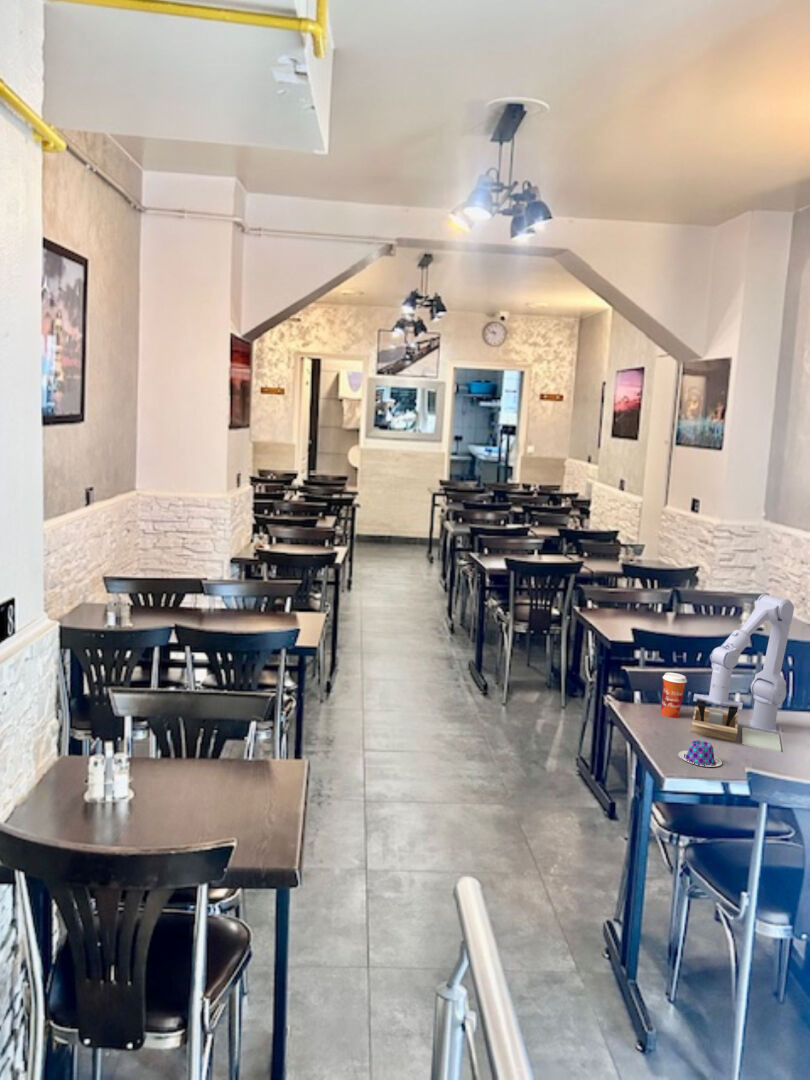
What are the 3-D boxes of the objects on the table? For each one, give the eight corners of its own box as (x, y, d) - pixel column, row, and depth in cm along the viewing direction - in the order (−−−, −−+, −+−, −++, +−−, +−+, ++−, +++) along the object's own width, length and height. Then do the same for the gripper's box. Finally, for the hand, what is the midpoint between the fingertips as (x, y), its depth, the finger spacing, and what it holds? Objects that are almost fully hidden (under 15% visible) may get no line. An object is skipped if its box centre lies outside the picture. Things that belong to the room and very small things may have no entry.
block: (707, 725, 280) (710, 707, 279) (720, 728, 278) (723, 710, 277) (706, 733, 272) (709, 714, 271) (720, 735, 271) (722, 717, 270)
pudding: (720, 772, 241) (722, 754, 241) (675, 762, 246) (678, 744, 246) (723, 759, 252) (725, 742, 252) (680, 749, 257) (682, 732, 256)
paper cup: (657, 717, 285) (663, 676, 283) (657, 710, 292) (663, 670, 290) (682, 721, 283) (688, 680, 281) (681, 715, 290) (687, 674, 288)
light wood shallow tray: (693, 718, 287) (695, 705, 287) (735, 726, 283) (737, 713, 282) (690, 737, 268) (691, 723, 267) (735, 746, 263) (737, 732, 262)
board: (741, 730, 280) (742, 727, 279) (778, 737, 276) (779, 734, 276) (741, 745, 265) (742, 742, 265) (780, 753, 261) (781, 750, 261)
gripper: (695, 684, 271) (689, 725, 273) (744, 693, 266) (738, 735, 268) (696, 678, 278) (690, 719, 280) (744, 687, 273) (738, 728, 274)
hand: (714, 726), depth 274 cm, fingers open, 7 cm apart
